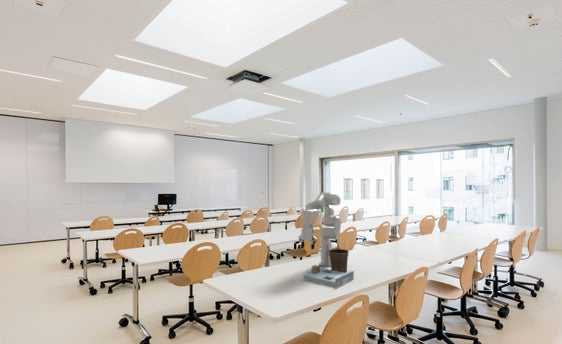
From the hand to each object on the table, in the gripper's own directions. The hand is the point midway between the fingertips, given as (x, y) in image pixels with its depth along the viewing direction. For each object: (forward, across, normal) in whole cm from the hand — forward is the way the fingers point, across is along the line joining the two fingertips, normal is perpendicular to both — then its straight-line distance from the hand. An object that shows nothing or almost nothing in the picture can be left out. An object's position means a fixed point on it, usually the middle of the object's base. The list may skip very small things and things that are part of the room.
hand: (307, 248), depth 238 cm
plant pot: (+20, -14, -22) cm, 33 cm away
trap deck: (+20, -18, 0) cm, 27 cm away
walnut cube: (+17, -7, 0) cm, 18 cm away
